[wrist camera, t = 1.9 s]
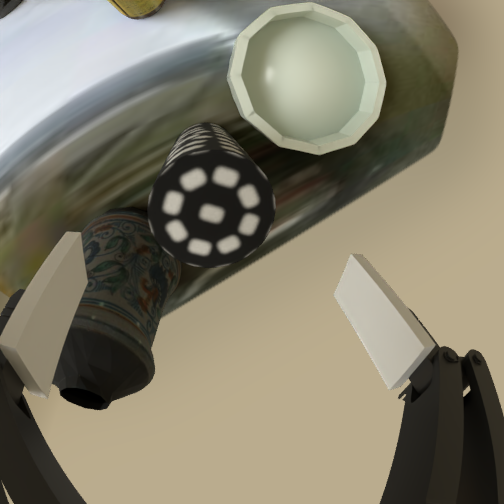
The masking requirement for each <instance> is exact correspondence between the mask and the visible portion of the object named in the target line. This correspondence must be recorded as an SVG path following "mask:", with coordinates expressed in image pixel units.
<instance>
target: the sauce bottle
mask: <svg viewBox="0 0 504 504" xmlns="http://www.w3.org/2000/svg"><path fill="white" fill-rule="evenodd" d="M108 1H109V2H110V3H111V4H112V5H113V6H114V7H115V8H116V9H117V10H118V11H119V12H120V13H122V14H123V15H125V16H127V17H129V18H131V19H142V18H146V17H149V16H151V15H153V14H155V13H156V12H157V11H158V10H159V9H160V8H161V7H162V6H163V4H164V2H165V0H108Z"/></svg>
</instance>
